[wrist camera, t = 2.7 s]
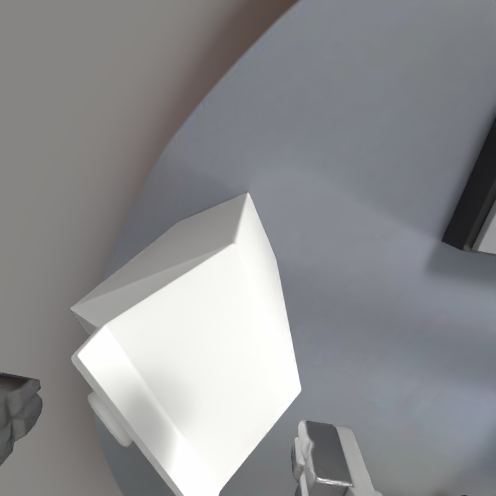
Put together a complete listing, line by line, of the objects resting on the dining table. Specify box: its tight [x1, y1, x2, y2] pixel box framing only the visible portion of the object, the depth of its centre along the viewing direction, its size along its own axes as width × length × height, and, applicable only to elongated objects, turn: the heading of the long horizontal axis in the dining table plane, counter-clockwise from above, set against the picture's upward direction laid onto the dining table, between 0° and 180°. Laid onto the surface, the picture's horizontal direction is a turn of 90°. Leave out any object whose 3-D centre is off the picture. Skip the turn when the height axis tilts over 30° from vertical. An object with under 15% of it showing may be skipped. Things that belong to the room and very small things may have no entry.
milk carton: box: [70, 193, 301, 496], centre depth 16 cm, size 7×7×19 cm
